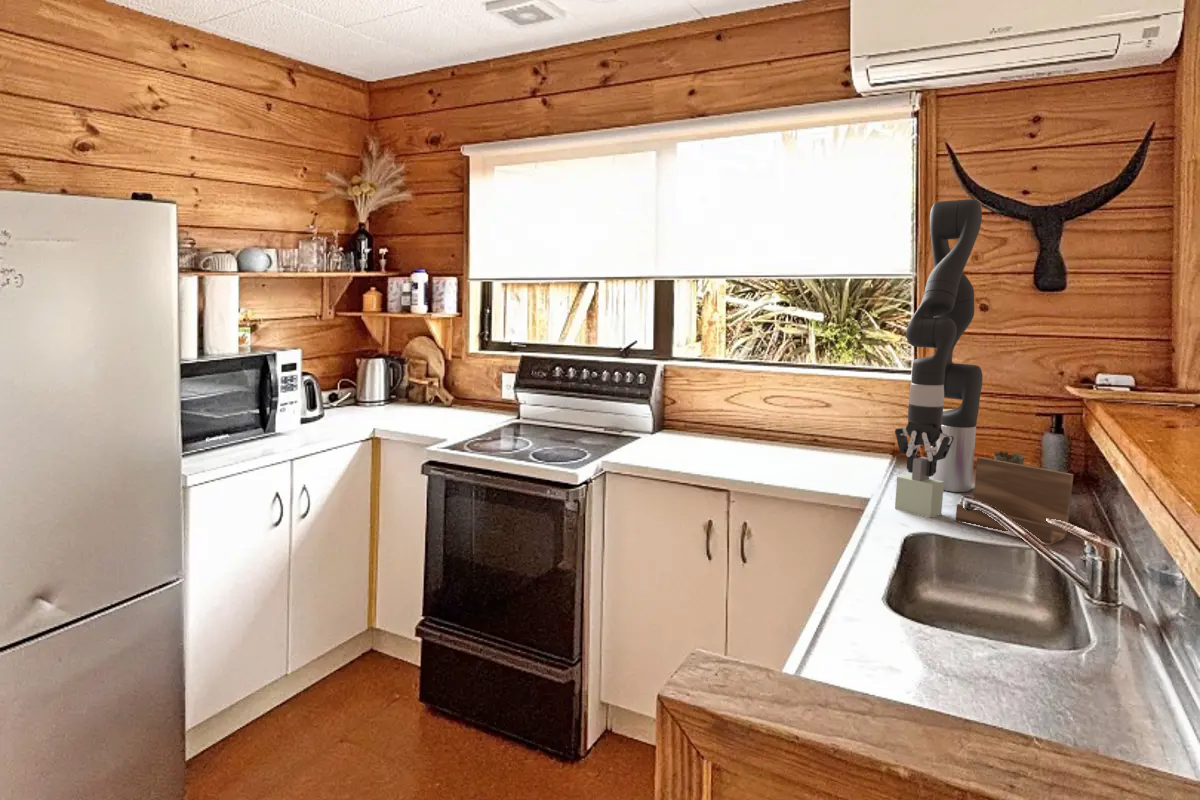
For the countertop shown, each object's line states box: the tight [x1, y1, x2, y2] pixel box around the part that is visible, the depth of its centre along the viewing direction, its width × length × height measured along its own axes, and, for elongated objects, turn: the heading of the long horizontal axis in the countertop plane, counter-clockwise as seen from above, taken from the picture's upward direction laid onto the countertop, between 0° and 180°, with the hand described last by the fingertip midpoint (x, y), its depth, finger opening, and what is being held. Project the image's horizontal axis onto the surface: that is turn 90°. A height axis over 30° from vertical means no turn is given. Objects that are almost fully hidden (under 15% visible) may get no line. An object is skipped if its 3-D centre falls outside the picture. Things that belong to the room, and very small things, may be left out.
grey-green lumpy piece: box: [993, 451, 1026, 465], centre depth 210 cm, size 8×7×8 cm
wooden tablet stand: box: [955, 456, 1074, 546], centre depth 169 cm, size 9×20×14 cm, turn 37°
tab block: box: [894, 456, 944, 518], centre depth 182 cm, size 5×9×13 cm, turn 37°
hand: (920, 473), depth 182 cm, fingers open, 4 cm apart
